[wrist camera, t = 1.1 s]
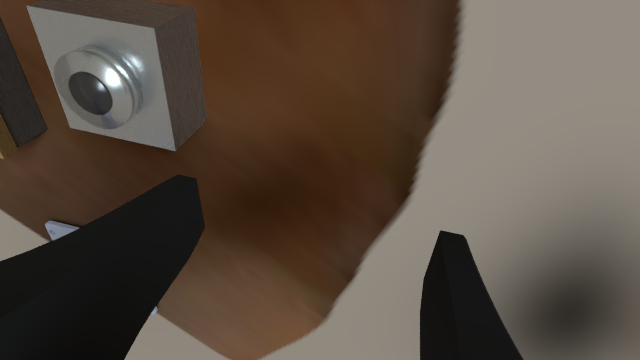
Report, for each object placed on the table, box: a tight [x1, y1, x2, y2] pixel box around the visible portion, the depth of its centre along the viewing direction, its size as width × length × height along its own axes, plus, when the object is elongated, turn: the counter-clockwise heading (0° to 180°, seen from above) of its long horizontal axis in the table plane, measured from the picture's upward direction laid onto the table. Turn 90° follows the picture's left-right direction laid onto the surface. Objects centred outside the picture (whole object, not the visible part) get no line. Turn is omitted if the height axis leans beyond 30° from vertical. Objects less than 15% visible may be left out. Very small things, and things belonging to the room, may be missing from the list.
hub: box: [27, 0, 207, 151], centre depth 19 cm, size 6×6×5 cm
